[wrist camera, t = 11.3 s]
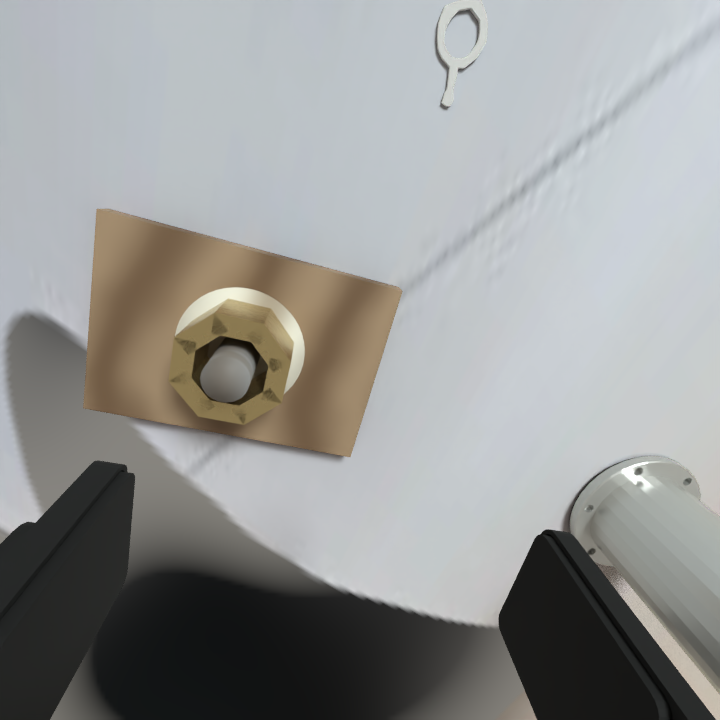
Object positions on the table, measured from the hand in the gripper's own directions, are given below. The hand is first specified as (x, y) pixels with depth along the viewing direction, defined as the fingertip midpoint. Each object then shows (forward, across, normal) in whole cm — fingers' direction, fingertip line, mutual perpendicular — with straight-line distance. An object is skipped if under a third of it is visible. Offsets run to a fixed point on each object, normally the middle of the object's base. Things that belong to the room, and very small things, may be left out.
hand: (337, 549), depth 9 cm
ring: (+21, +6, +3) cm, 22 cm away
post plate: (+22, +6, +3) cm, 23 cm away
